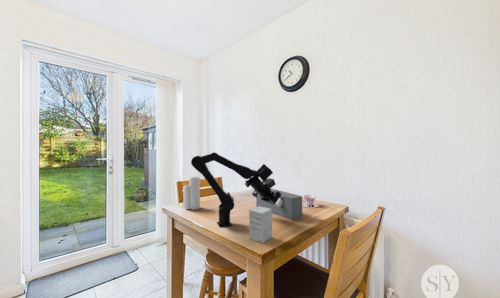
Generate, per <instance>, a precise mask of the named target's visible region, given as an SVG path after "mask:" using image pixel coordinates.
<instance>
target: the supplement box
mask: <svg viewBox="0 0 500 298" xmlns="http://www.w3.org/2000/svg"><path fill="white" fill-rule="evenodd" d="M248 211H249V213H248V214H249V217H248V219H249V221H248V222H249V225H248V226H249V227H248V228H249V231H248V232H249V239H250V240H251V241H256V242H258V243H261V244H264V243H265V242H267V241H269V240H270V239H272V238H273V213H272V209H270V208H265V207H260V206H258V207H256V206H255V207H254V208H251V209H249V210H248Z"/></svg>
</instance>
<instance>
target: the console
mask: <svg viewBox="0 0 500 298" xmlns="http://www.w3.org/2000/svg"><path fill="white" fill-rule="evenodd" d="M271 191H272V192H273V191H279V192H280V193H281V196H280V198H281V199H282V200H283V205H282V206H279V207H278V206H277V205H276V203H275V204H272V203H269V202H267V201H264V200H261V197H260V196H258V195H259V194H257V196H258V197H257V198H256V197H255V200H256V201H255V203H256V205H255V208H256V207H258V206H260V207H265V208H270V209H272V214H274V215H277V216H279V217H281V218H284V219H286V220H290V221H297V220H299V219H303V206H302V203H303V196H302V195H299V194H295V193H290V192H287V191H282V190H278V189H276V188H275V189H274V188H271Z"/></svg>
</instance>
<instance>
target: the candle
mask: <svg viewBox="0 0 500 298" xmlns="http://www.w3.org/2000/svg"><path fill="white" fill-rule="evenodd" d="M200 177H201V176H190V177H189V178H188V179H189V181H188V182H189V183H188V184H184V185H183V187H182V189H183V191H182V192H183V198H182V200H183V201H182V203H183V205H182V207H184V208H183V209H184V210H185V209H189V210H190V209H192V211H194V210H195V209H197V210H199V208H201V198H200V197H201V190H200V189H201V188H200V185H201V184H200V182H201V179H200Z"/></svg>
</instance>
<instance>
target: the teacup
mask: <svg viewBox="0 0 500 298" xmlns="http://www.w3.org/2000/svg"><path fill="white" fill-rule="evenodd" d="M303 198H304V201H305V202H302V208H307V209H310V208H311V209H315V208H316V207H312V206H313V204H317V205H318V207H317V208H319V207H320V204H318V203H315V200H316V196H315V195H312V194H311V195H310V194H305V195H304V196H303ZM309 206H310V207H309ZM317 208H316V209H317Z"/></svg>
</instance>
